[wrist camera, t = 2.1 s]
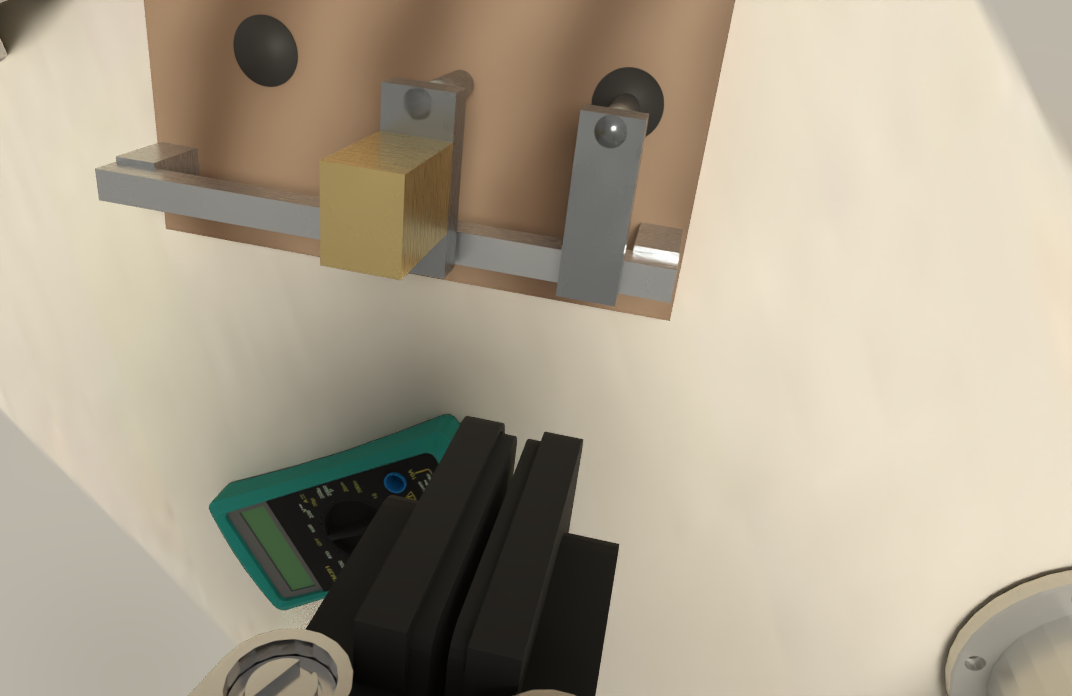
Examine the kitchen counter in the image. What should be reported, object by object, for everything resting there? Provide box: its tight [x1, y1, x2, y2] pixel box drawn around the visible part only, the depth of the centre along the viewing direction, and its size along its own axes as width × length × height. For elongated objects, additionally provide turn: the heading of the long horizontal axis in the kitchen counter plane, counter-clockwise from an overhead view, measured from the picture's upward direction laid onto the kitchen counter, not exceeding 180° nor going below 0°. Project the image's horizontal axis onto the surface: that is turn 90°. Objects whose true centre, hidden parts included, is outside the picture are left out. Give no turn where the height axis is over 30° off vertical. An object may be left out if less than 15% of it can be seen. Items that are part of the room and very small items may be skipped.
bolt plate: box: [95, 0, 735, 321], centre depth 29 cm, size 22×12×7 cm, turn 83°
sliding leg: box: [320, 70, 474, 280], centre depth 26 cm, size 2×6×9 cm, turn 173°
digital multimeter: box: [209, 415, 460, 610], centre depth 41 cm, size 7×15×3 cm, turn 114°
